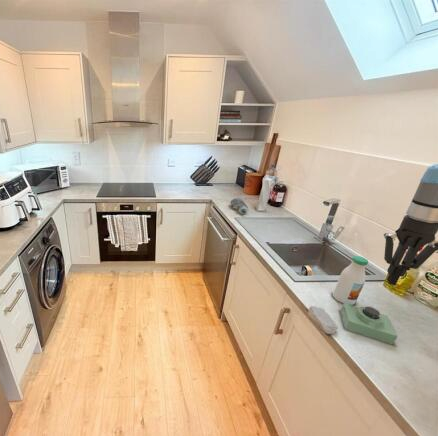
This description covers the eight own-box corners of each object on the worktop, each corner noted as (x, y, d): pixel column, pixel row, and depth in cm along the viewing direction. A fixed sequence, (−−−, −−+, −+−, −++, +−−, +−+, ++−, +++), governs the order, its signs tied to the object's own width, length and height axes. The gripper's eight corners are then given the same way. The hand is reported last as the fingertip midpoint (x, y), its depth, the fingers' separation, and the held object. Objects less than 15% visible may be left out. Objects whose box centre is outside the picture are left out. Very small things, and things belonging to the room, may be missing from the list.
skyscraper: (255, 207, 198) (261, 174, 187) (265, 208, 196) (273, 175, 185) (256, 211, 191) (263, 177, 179) (267, 212, 188) (274, 177, 177)
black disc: (375, 313, 85) (378, 308, 84) (379, 321, 82) (381, 316, 81) (361, 309, 87) (363, 305, 86) (364, 316, 83) (366, 312, 83)
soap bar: (329, 338, 85) (342, 332, 82) (313, 335, 85) (326, 328, 81) (317, 312, 93) (328, 305, 89) (303, 309, 92) (313, 302, 88)
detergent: (228, 204, 204) (233, 214, 181) (230, 196, 201) (235, 206, 178) (243, 206, 203) (251, 217, 180) (246, 198, 200) (253, 208, 177)
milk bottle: (336, 303, 97) (353, 262, 89) (329, 290, 104) (344, 252, 96) (358, 307, 95) (378, 266, 87) (350, 294, 102) (367, 255, 94)
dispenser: (383, 323, 87) (389, 311, 85) (392, 344, 79) (400, 331, 77) (340, 310, 93) (345, 299, 91) (345, 329, 85) (350, 316, 83)
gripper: (447, 217, 70) (412, 281, 79) (389, 210, 75) (363, 271, 85) (463, 227, 64) (423, 295, 73) (398, 218, 69) (368, 282, 79)
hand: (390, 282), depth 79 cm, fingers closed
